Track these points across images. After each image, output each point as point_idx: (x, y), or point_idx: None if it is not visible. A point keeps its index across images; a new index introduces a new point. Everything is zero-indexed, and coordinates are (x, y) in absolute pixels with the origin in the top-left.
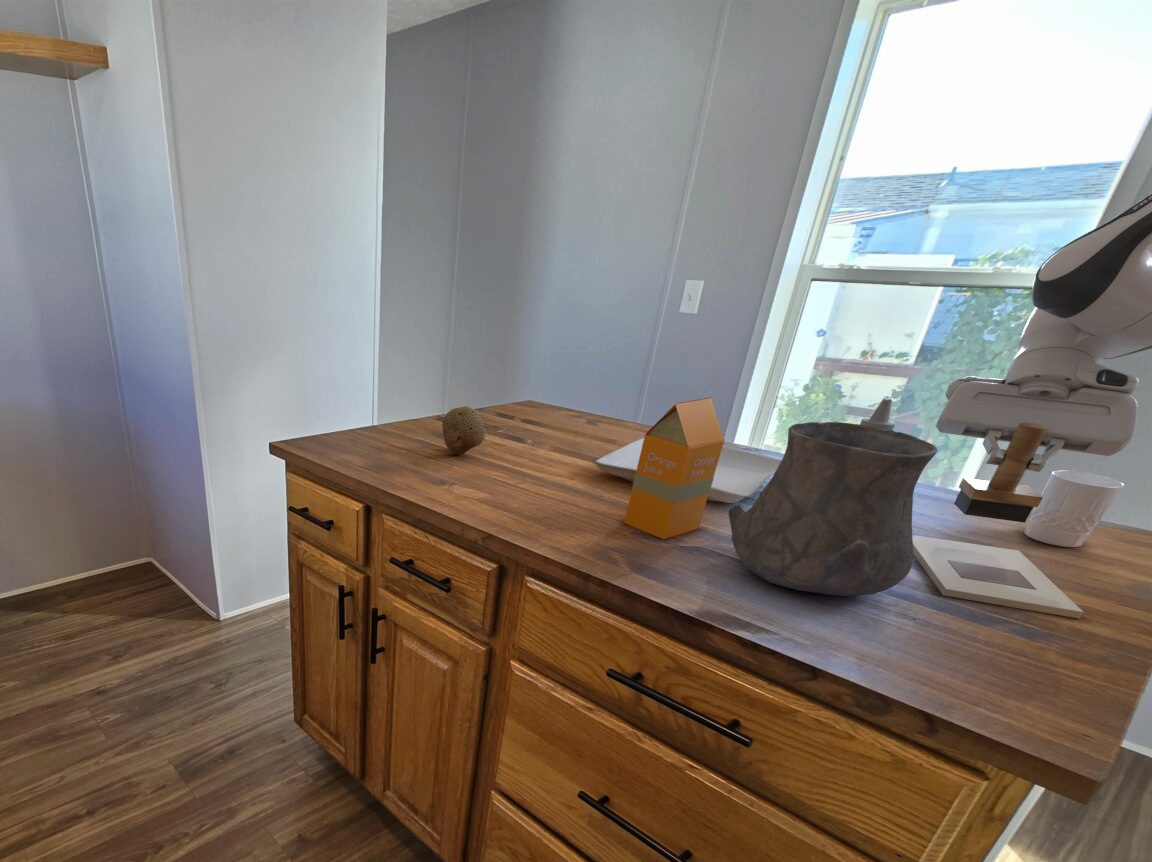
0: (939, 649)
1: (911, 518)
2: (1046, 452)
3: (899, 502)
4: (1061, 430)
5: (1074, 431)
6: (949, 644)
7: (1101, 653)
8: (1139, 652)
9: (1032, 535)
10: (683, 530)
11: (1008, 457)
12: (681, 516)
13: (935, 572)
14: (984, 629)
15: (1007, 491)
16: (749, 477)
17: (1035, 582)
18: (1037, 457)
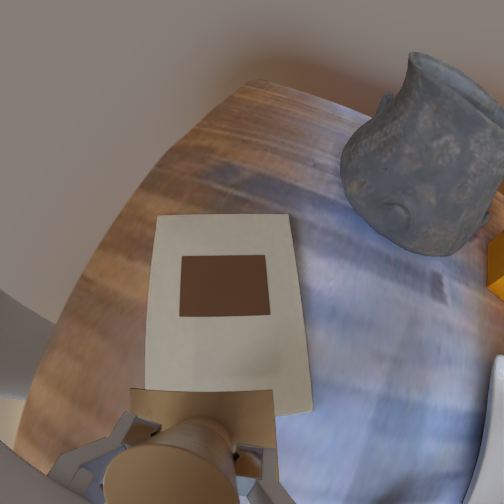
0: (299, 133)
1: (377, 120)
2: (110, 449)
3: (396, 95)
4: (50, 497)
5: (14, 474)
6: (292, 140)
7: (179, 163)
8: (145, 177)
9: (105, 501)
10: (489, 264)
11: (225, 441)
12: (500, 248)
13: (293, 257)
14: (261, 166)
15: (198, 406)
16: (473, 499)
17: (172, 281)
18: (138, 438)
